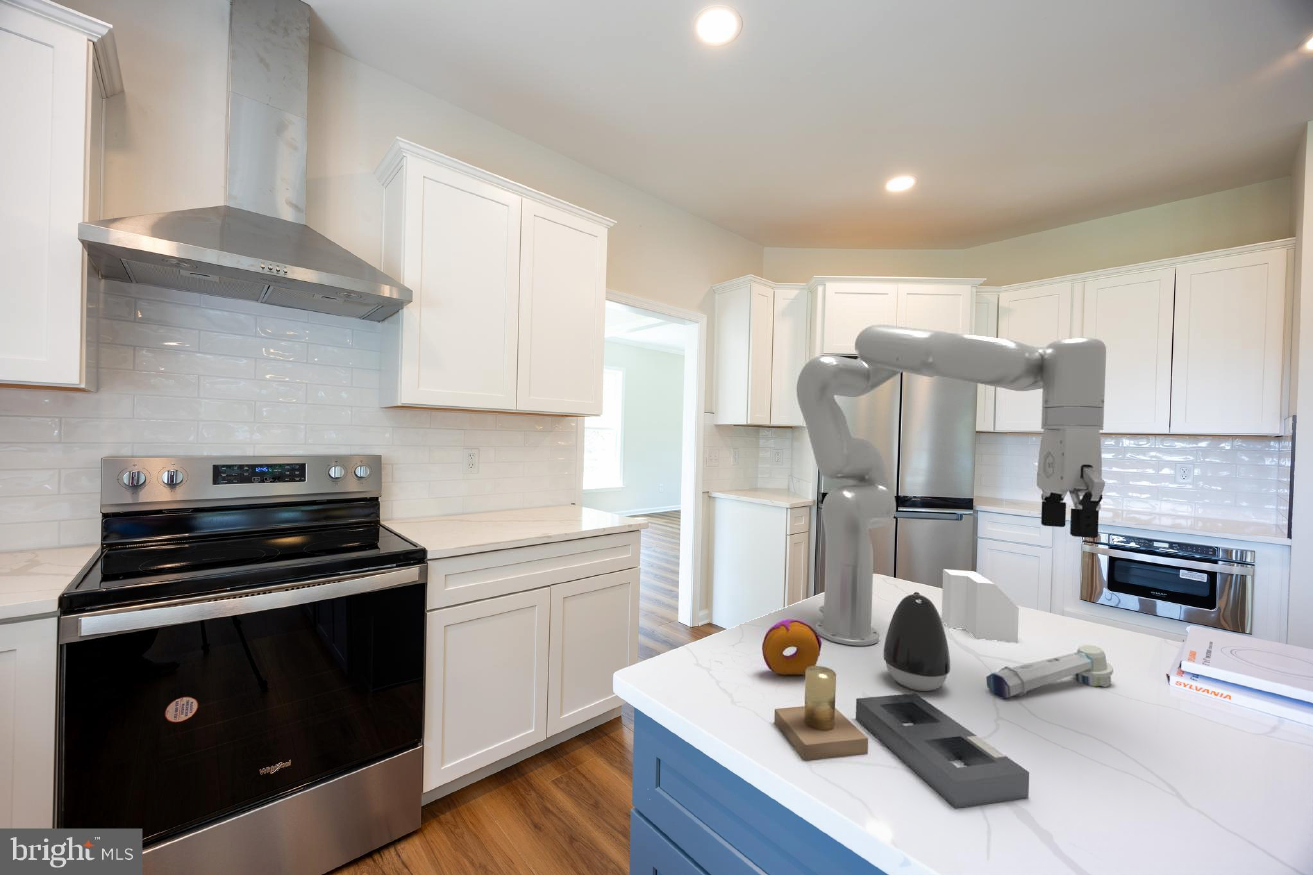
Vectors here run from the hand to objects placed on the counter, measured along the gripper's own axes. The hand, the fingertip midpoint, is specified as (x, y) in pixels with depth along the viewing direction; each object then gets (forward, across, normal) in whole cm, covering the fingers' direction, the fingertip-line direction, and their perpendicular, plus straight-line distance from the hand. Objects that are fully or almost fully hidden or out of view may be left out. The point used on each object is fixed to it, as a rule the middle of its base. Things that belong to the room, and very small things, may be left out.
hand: (1067, 531), depth 81 cm
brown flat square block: (+28, +19, -36) cm, 50 cm away
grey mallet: (+29, -10, +3) cm, 30 cm away
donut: (+28, +1, -40) cm, 49 cm away
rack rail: (+28, +18, -22) cm, 40 cm away
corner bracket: (+28, -36, -1) cm, 46 cm away
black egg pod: (+28, -3, -20) cm, 35 cm away
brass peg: (+26, +19, -36) cm, 49 cm away
